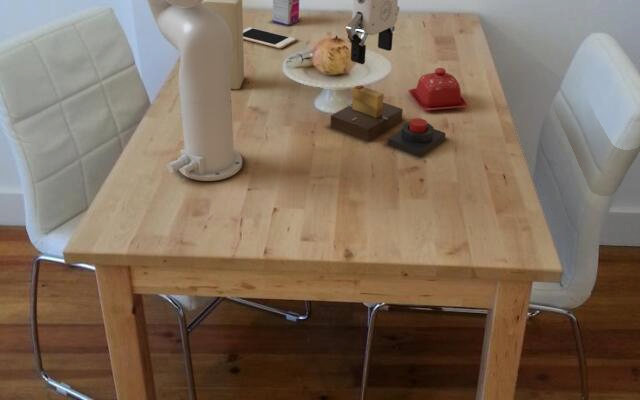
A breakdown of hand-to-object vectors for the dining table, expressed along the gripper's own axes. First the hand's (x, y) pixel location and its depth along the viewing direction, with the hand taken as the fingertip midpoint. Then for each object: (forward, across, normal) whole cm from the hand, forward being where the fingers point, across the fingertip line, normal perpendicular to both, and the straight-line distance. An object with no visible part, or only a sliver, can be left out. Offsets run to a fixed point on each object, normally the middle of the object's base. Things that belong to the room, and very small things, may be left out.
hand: (371, 55), depth 155 cm
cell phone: (+16, +24, +52) cm, 60 cm away
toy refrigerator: (+16, -4, +39) cm, 43 cm away
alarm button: (+13, 0, -13) cm, 18 cm away
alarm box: (+16, 0, -13) cm, 21 cm away
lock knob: (+13, 0, 0) cm, 13 cm away
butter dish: (+16, +20, -6) cm, 26 cm away
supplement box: (+16, +39, +57) cm, 71 cm away
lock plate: (+16, 0, 0) cm, 16 cm away
